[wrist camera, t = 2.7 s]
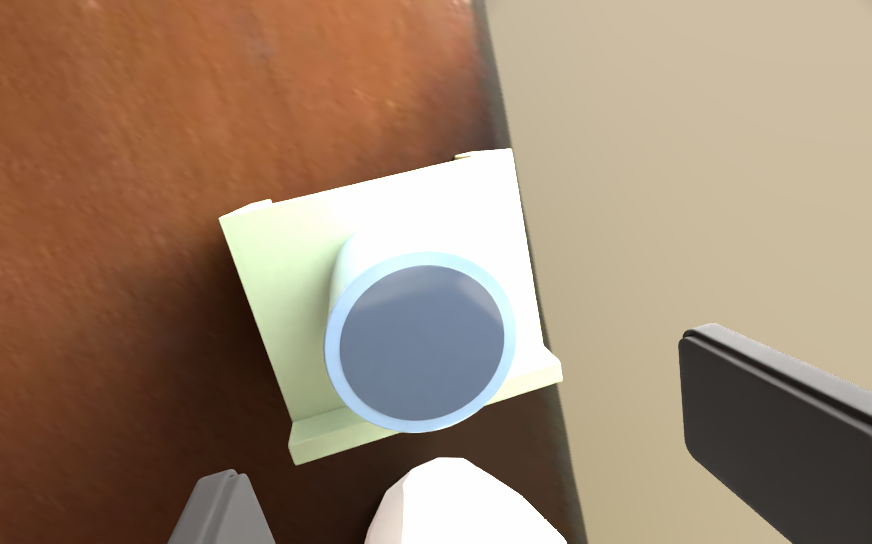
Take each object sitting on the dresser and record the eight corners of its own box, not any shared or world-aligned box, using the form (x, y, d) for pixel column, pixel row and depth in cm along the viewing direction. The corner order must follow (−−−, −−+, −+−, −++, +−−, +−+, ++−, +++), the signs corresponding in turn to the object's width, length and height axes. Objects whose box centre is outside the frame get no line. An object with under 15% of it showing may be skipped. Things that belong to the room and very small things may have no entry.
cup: (314, 235, 20) (296, 280, 13) (445, 203, 21) (501, 226, 14) (351, 356, 22) (354, 458, 15) (470, 321, 23) (532, 400, 15)
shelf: (250, 203, 26) (203, 224, 17) (472, 151, 28) (528, 147, 19) (309, 377, 29) (294, 466, 21) (503, 321, 31) (563, 381, 23)
